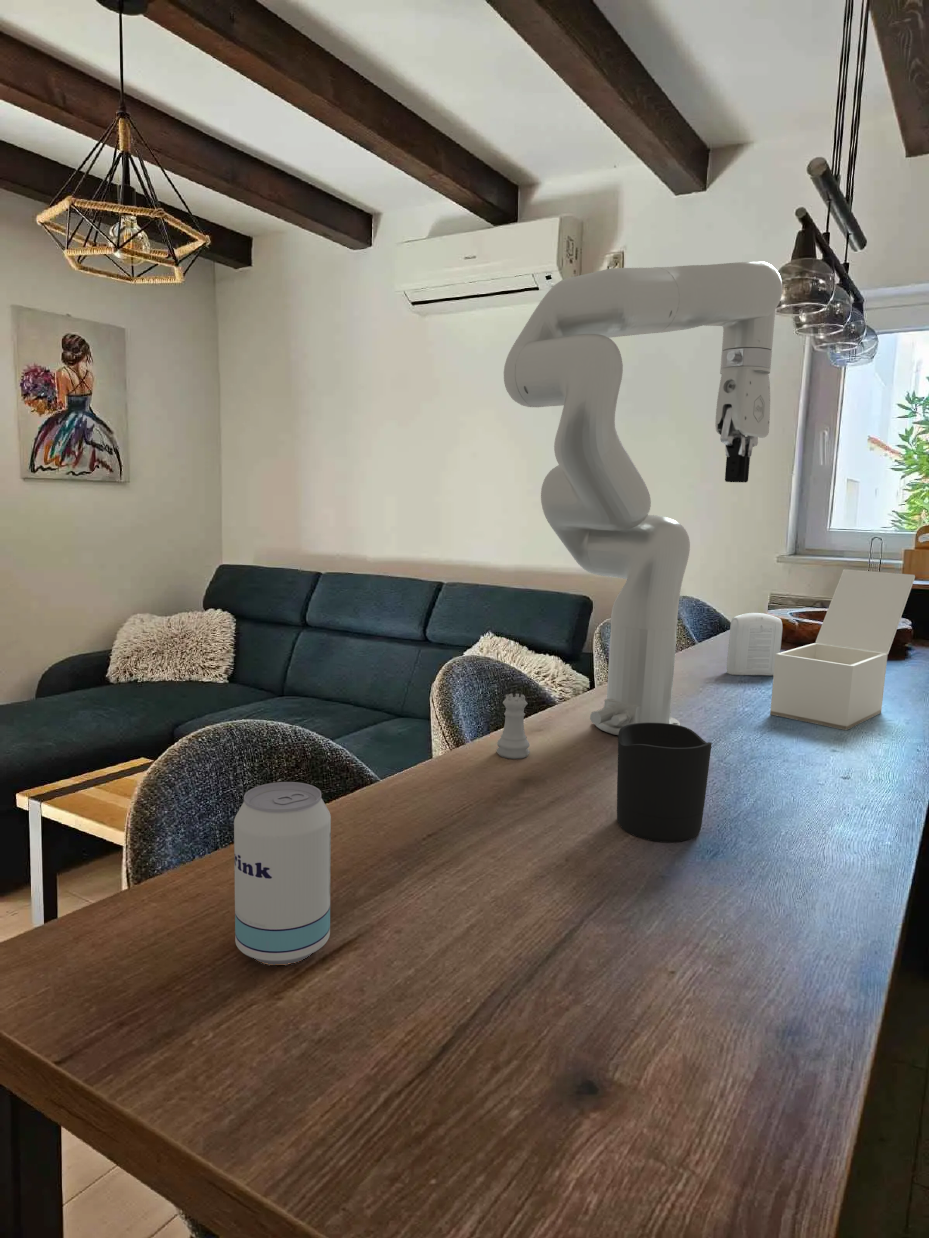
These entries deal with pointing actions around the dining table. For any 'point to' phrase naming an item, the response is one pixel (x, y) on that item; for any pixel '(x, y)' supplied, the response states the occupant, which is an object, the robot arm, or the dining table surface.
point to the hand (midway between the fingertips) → (736, 481)
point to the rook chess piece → (513, 729)
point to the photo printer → (753, 644)
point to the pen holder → (661, 781)
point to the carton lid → (865, 610)
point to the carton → (828, 685)
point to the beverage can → (282, 872)
